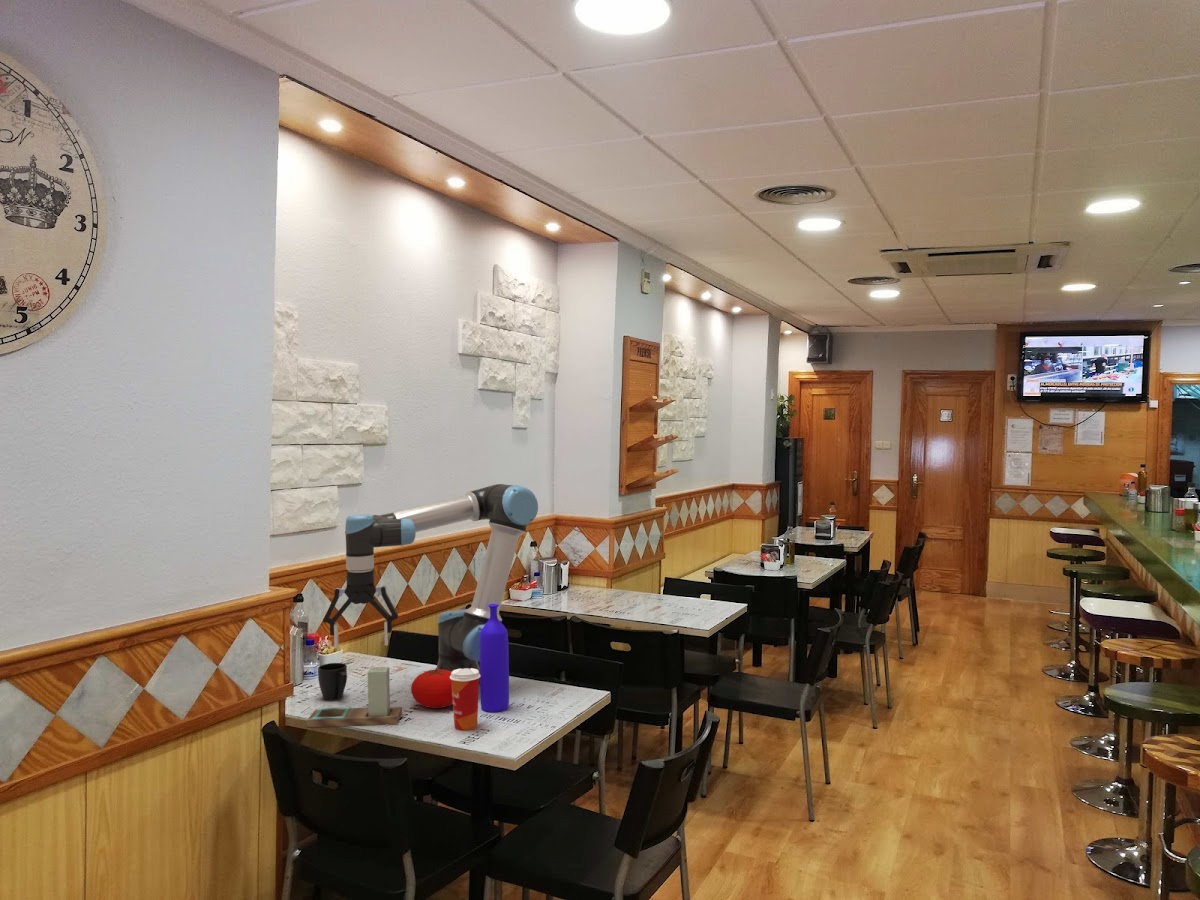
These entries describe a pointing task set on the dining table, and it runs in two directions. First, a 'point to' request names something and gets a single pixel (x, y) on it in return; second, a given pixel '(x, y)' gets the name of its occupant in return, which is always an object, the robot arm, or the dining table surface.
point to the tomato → (433, 688)
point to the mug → (332, 680)
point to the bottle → (494, 664)
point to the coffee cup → (465, 697)
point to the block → (378, 691)
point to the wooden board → (351, 717)
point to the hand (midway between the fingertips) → (361, 645)
